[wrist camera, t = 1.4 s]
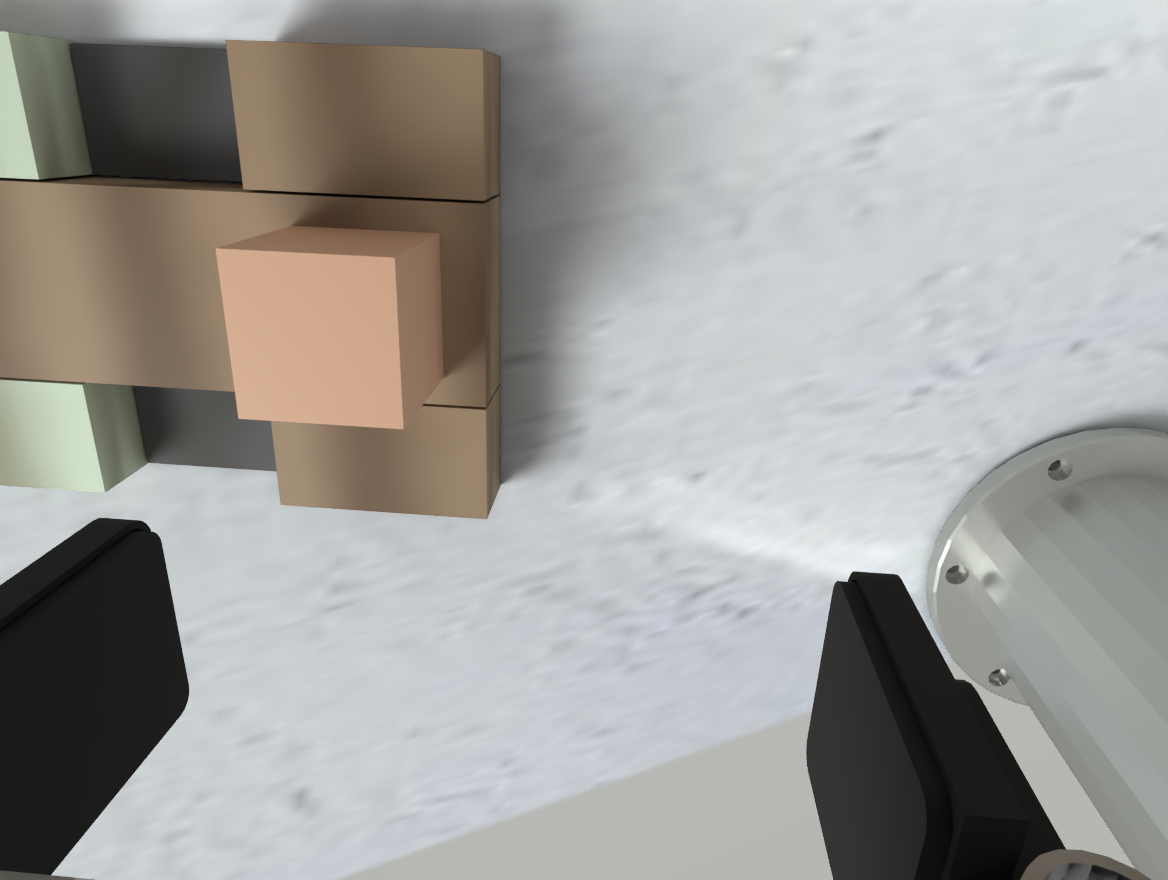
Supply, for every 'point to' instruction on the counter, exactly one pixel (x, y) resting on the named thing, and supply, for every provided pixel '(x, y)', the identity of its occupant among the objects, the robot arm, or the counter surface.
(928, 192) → the counter surface
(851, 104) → the counter surface
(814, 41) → the counter surface
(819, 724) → the robot arm
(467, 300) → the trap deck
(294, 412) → the block
